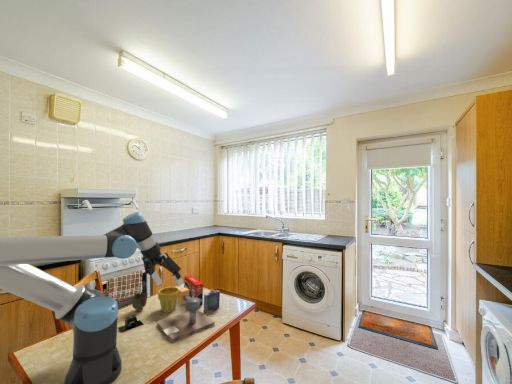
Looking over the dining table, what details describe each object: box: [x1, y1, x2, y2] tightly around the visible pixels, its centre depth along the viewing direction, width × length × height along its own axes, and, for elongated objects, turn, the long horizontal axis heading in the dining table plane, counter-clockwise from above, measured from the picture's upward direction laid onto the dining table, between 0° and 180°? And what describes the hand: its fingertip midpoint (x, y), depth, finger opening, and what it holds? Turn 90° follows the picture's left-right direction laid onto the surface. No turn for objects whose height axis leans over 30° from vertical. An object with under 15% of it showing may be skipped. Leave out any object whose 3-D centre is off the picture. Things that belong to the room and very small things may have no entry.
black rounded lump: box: [117, 314, 145, 333], centre depth 104 cm, size 12×7×5 cm, turn 136°
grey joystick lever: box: [177, 287, 201, 312], centre depth 109 cm, size 15×6×6 cm, turn 43°
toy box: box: [183, 274, 204, 306], centre depth 133 cm, size 18×4×12 cm, turn 37°
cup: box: [131, 292, 149, 313], centre depth 119 cm, size 8×7×8 cm
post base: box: [156, 309, 216, 343], centre depth 106 cm, size 20×17×8 cm
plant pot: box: [157, 286, 180, 313], centre depth 121 cm, size 10×10×10 cm
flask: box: [203, 288, 221, 314], centre depth 122 cm, size 9×3×11 cm, turn 132°
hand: (170, 284), depth 106 cm, fingers open, 13 cm apart
